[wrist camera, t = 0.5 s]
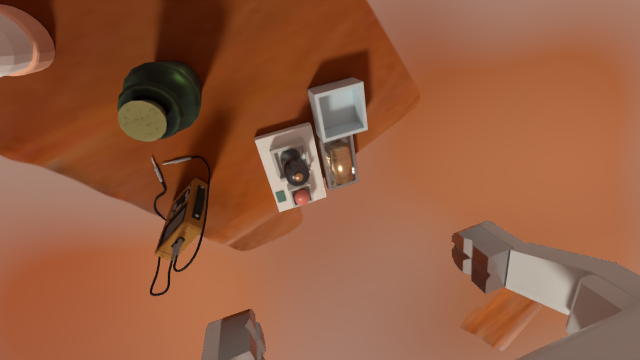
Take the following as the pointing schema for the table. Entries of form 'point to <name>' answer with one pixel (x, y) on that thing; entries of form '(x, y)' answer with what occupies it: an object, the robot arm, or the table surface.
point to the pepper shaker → (23, 43)
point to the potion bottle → (159, 100)
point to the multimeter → (182, 221)
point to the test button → (301, 196)
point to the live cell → (341, 162)
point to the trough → (327, 161)
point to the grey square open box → (338, 108)
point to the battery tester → (270, 156)
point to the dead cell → (294, 167)
